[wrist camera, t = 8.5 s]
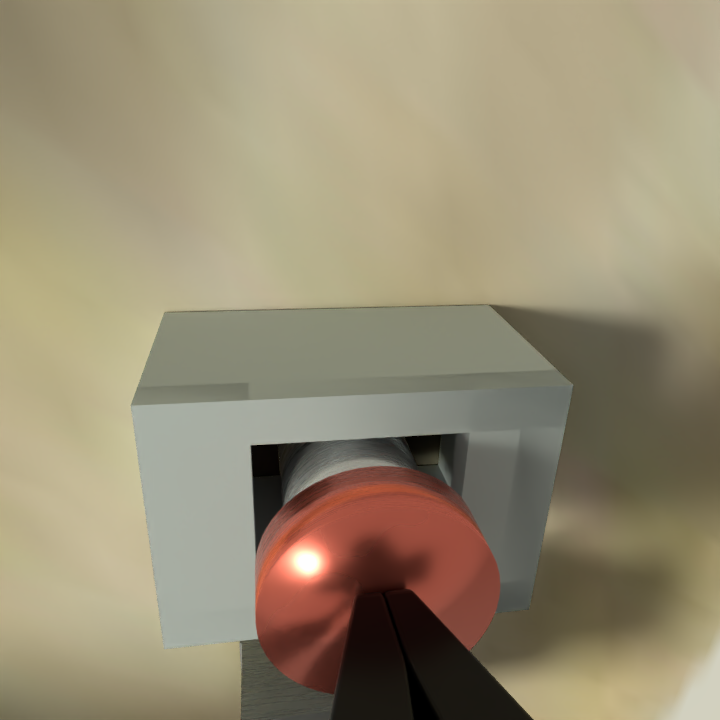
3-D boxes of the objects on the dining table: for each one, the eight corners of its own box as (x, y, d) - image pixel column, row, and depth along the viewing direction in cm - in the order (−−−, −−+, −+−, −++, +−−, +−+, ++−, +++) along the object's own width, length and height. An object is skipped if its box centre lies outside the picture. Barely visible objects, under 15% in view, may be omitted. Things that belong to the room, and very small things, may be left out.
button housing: (465, 488, 16) (529, 609, 12) (185, 509, 15) (163, 649, 11) (488, 305, 14) (573, 385, 10) (164, 312, 13) (130, 405, 9)
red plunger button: (407, 482, 15) (484, 680, 10) (255, 493, 14) (260, 709, 9) (418, 345, 13) (515, 498, 8) (249, 351, 13) (250, 519, 8)
